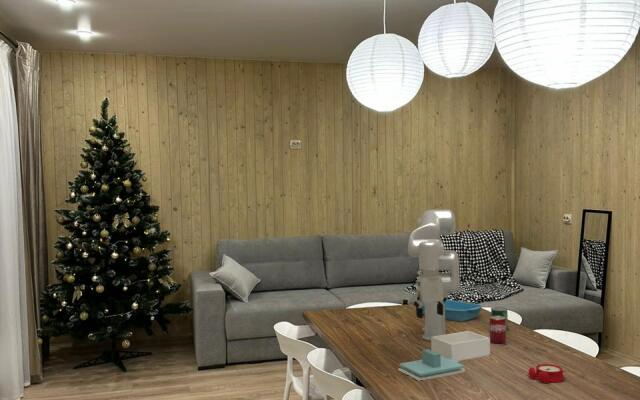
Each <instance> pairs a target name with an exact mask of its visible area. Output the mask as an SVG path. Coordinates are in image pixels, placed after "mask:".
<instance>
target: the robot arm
mask: <svg viewBox="0 0 640 400" xmlns="http://www.w3.org/2000/svg"><path fill="white" fill-rule="evenodd" d="M456 225H457V224H456V216H455V214H454V212H453V211H452V210H451V209H427V210H425V211H423V213H422V214H421V217H419V218H418V219H417V221H416V227H417V228H416V229H414V230H413V231H411V233H410V234H409V237H408V242H407V251H408V252H407V253H408V255H409V256H410V257H412V258H415V259H416V258H418V270H417V271H416V275H419V276H418V277H417V282H416V292H415V293H414V294H413V295H412V296H410V301H411V303H412V304H411V305H413V306H414V308H415V311H416V312H415V314H416V318H419V319H423V317H424V327H422V330H421V331H424V333H423V334H422V335H421V338H422V339H423V340H425V341H429V342H431V337H434V336H440V335H446V319H445V301H446V300H448V299H447V298H448V296H449V293H450V294H452V293H453V294H454V293H457V292H459V290H460V285H461V284H460V283H461V281H460V258H459V255H458V253H457V251H455V250H453V249H452V250H451V249H445V247H444V246H445V245H444V243H443V240H442V238H441V236H451V235H453V234H454V233H455V232H456V227H457V226H456ZM440 271H447V272H440ZM424 303H425V315H424V314H423V309H422V308H421V307H422V305H423V304H424Z"/></svg>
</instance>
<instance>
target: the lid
mask: <svg viewBox="0 0 640 400" xmlns="http://www.w3.org/2000/svg"><path fill="white" fill-rule="evenodd" d="M421 353H422V354H421V358H422V359H418V360H412V361H407V362H401V363H399V367H400V368H404V369H406V370H408V371H410V372H412V373H414V374H416V375H418V376H420V377H424V376H429V375H435V374H440V373H445V372H450V371H455V370H459V368H463V369H465V365H464V364H461V363H460V361H457V360H454V359H447V358H445V357H442V356H440V354H439V353H437V352H434V351H432V350H431V349H429V348H428V349H427V348H426V349H422V350H421Z"/></svg>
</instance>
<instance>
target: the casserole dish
mask: <svg viewBox="0 0 640 400" xmlns="http://www.w3.org/2000/svg"><path fill="white" fill-rule="evenodd" d="M481 307H482V305H481V304H479V303H473V302H467V301H466V302H465V301H460V300H453V299H447V300H446V301H445V321H446V320H447V321H452V322H466V321H467V322H468V321H470V320H473V319H475V318H477V317H478V316H479V314H480V311H481ZM421 308H422V309H423V316H425V303H424V304H423V305H422V307H421Z"/></svg>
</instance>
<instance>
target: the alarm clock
mask: <svg viewBox="0 0 640 400" xmlns="http://www.w3.org/2000/svg"><path fill="white" fill-rule="evenodd" d="M535 368H536V369H535ZM535 368H534V367H530V368H528V374H526V375H527V377H529V378H530V379H532V380H538V381H539V383H542V384H548V383H554V384H555V383H562V382H564V381H565V376H564V372H568V373H569V370H564V369H563V367H561V366H560V365H556V364H549V363H542V364H538V365H536V367H535Z"/></svg>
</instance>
